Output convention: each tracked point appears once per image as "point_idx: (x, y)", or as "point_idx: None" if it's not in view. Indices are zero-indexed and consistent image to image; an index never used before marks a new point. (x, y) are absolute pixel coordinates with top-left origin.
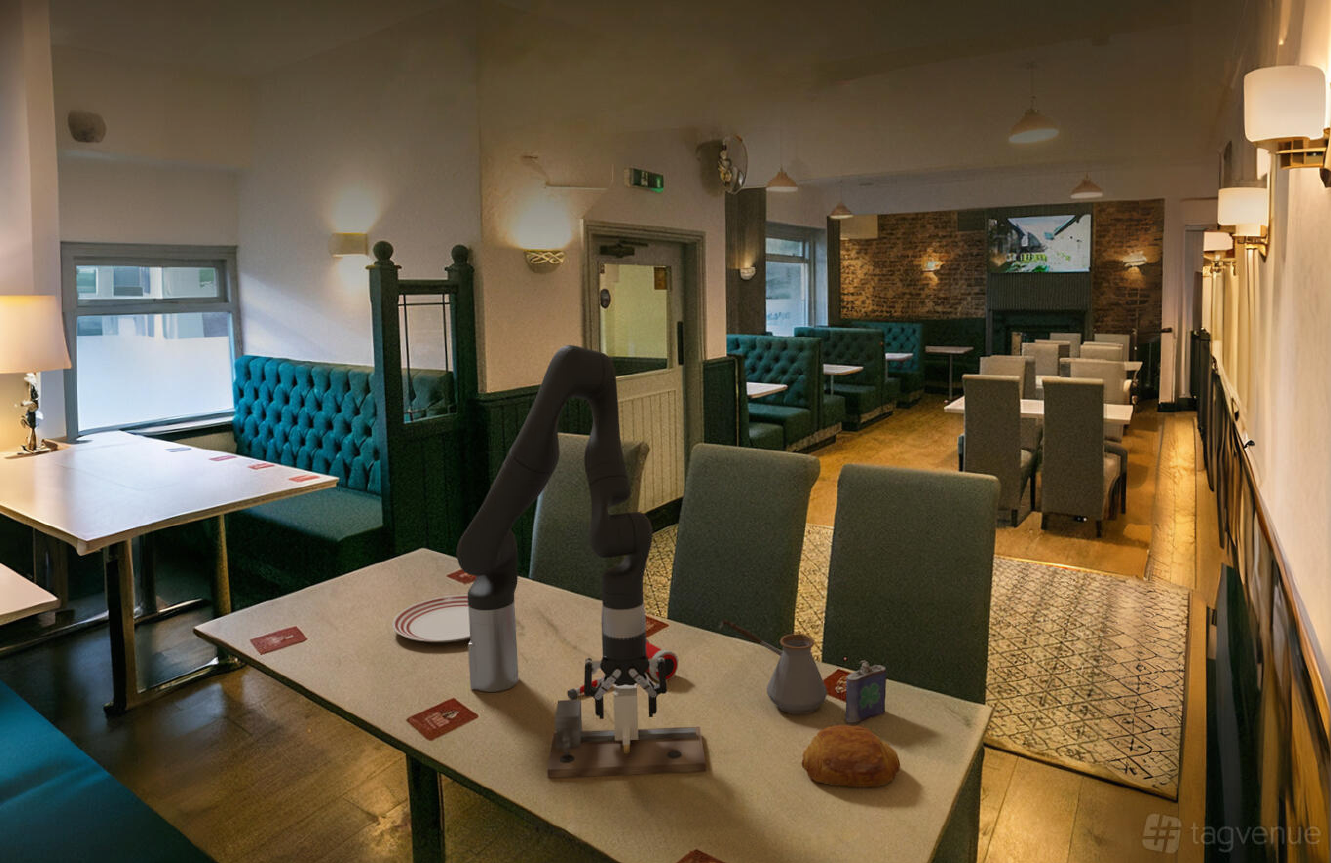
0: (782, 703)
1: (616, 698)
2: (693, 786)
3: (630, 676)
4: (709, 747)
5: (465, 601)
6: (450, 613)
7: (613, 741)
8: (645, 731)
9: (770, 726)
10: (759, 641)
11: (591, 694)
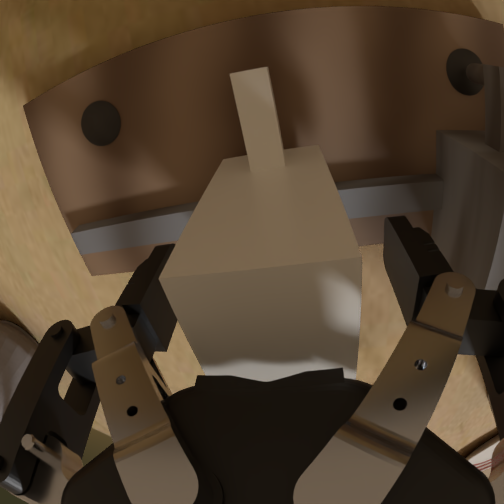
0: (6, 333)
1: (333, 249)
2: (52, 26)
3: (211, 443)
4: None
5: (483, 465)
6: None
7: None
8: None
9: (14, 290)
10: None
11: (487, 297)
